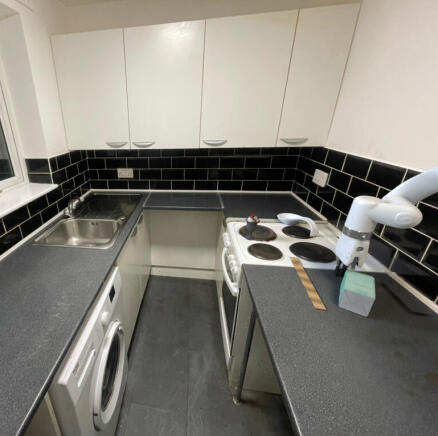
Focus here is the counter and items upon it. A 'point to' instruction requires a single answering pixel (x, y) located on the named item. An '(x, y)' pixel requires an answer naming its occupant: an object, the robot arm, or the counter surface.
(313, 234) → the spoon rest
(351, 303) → the box
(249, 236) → the sundae
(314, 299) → the strip
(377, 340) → the counter surface
